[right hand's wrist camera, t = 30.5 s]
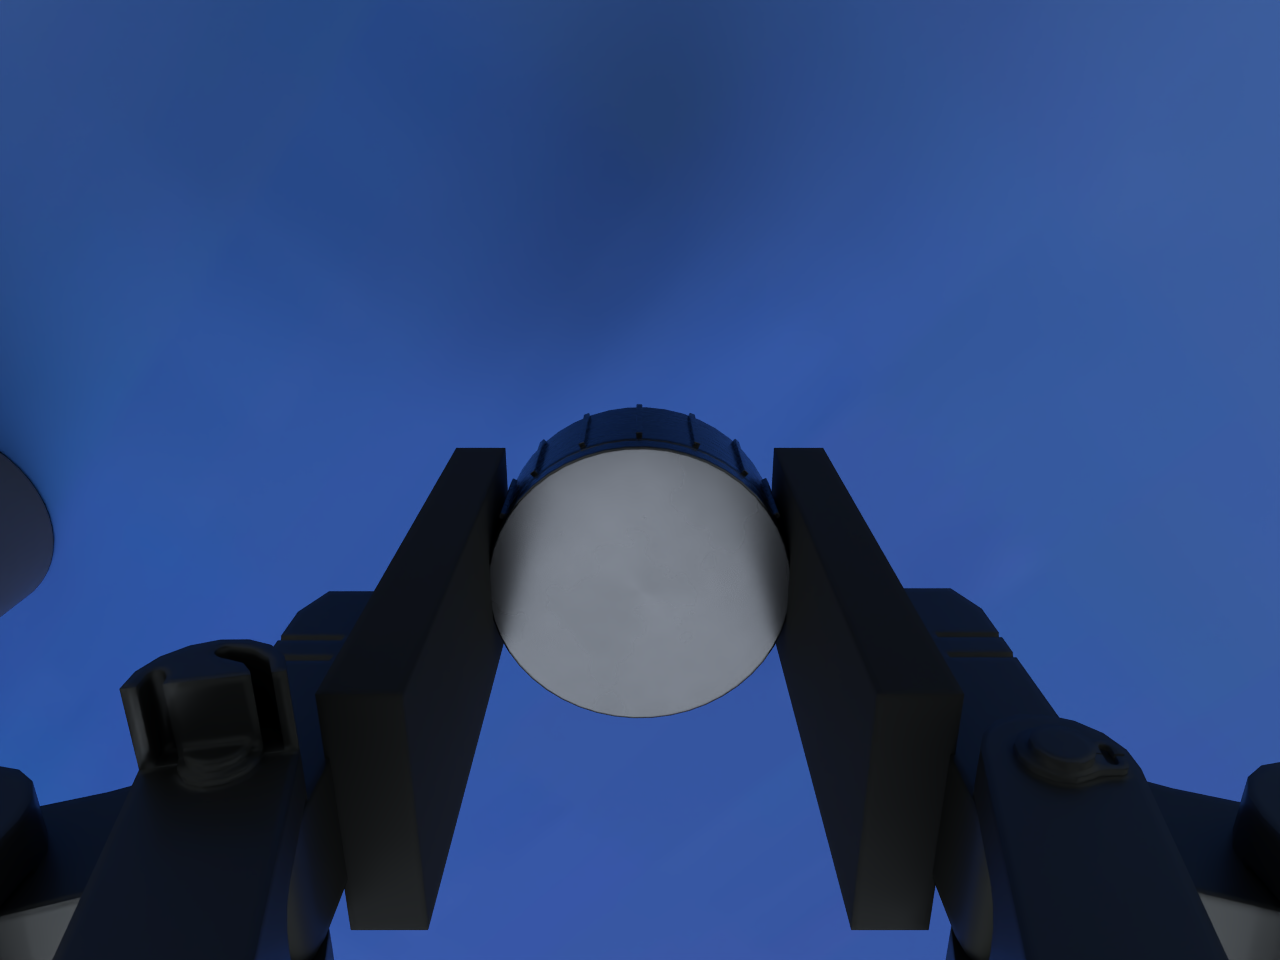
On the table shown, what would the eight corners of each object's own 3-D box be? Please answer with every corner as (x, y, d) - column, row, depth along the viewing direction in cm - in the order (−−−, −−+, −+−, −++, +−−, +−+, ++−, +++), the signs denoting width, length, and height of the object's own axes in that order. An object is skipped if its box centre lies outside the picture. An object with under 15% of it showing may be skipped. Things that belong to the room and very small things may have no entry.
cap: (444, 526, 14) (417, 582, 13) (648, 343, 13) (650, 375, 11) (630, 698, 15) (629, 770, 14) (832, 541, 14) (859, 598, 13)
